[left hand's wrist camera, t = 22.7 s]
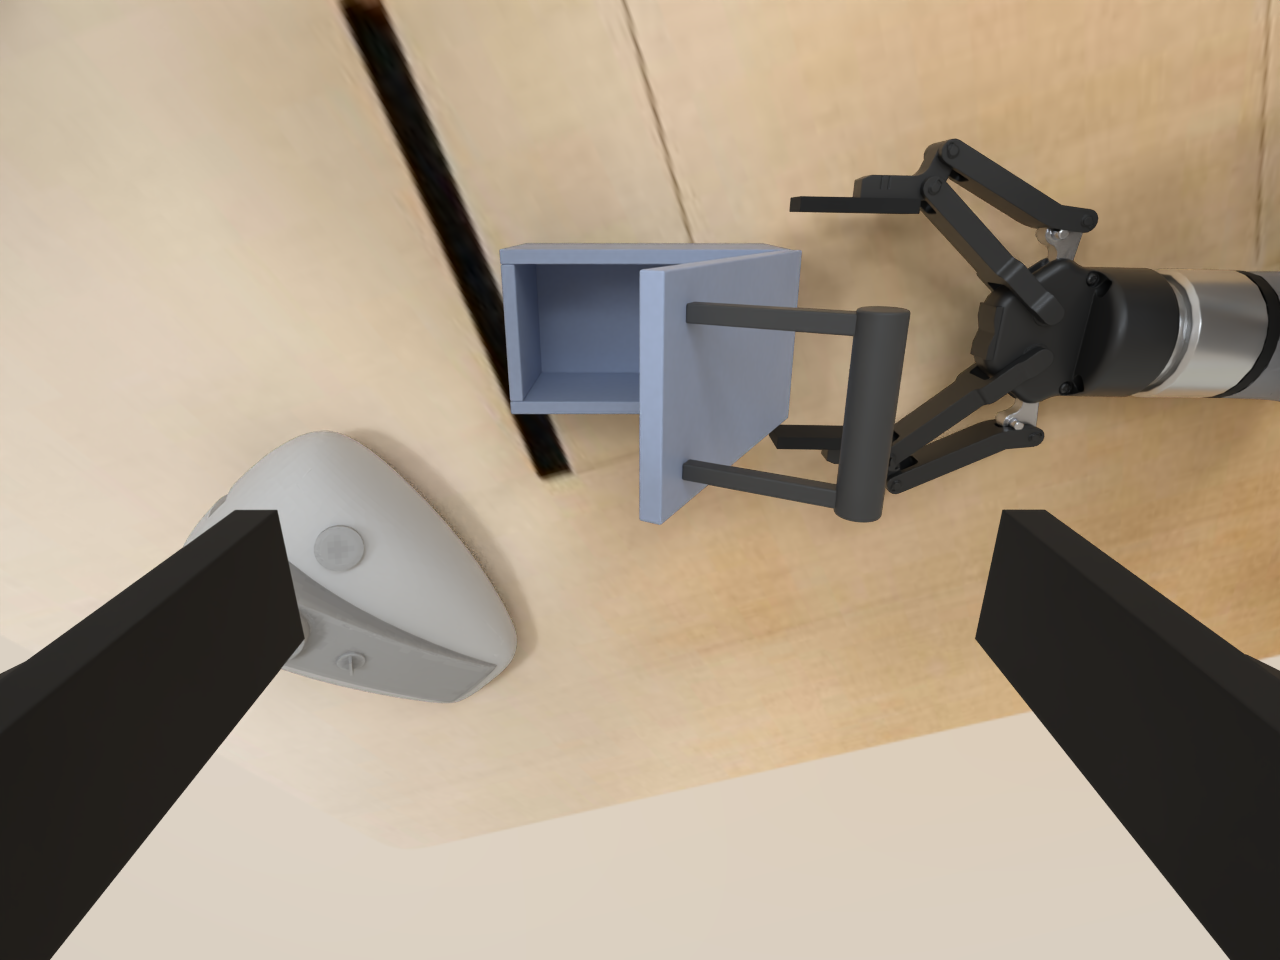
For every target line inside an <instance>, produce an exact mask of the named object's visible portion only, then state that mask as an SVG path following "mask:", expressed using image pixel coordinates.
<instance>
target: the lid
mask: <svg viewBox="0 0 1280 960" xmlns="http://www.w3.org/2000/svg"><path fill="white" fill-rule="evenodd" d="M801 255H802V251H801V250H781V251H774V252H767V253H759V254H752V255H745V256H738V257H730V258H723V259H716V260H708V261H701V262H694V263H686V264H679V265H672V266H665V267H657V268H650V269H643V270H640V520H641V521H645V522H650V523H654V524H659V525H660V524H662V523H663V522H665V521H666V520H667V519H668V518H669V517H671V516H672V515H673V514H674V513H675V512H676V511H678V510H679V509H680V508H681V507H682V506H684V505H685V504H686V503H687V502H688V501H690V500H691V499H692V498H693V497H694V496H695V495H697V494H698V493H699V492H700V491H701V490H703V489H704V488H705V487H706V486H707V485H712V486H718V487H723V488H728V489H734V490H739V491H744V492H750V493H755V494H760V495H766V496H771V497H776V498H781V499H787V500H792V501H797V502H803V503H808V504H813V505H819V506H824V507H829V508H834V512H835V514H836V515H838V516H839V517H841V518H843V519H846V520H849V521H854V522H873V521H876V520H878V519H879V518H880V517H881V515H882V508H883V501H884V494H885V487H886V480H887V473H888V466H889V459H890V452H891V445H892V438H893V431H894V424H895V417H896V410H897V403H898V396H899V389H900V382H901V375H902V368H903V361H904V354H905V347H906V340H907V333H908V326H909V319H910V311H909V310H907V309H903V308H897V307H883V306H869V307H861V308H858V309H857V311H843V310H826V309H810V308H797V303H798V291H799V279H800V267H801ZM795 332H807V333H820V334H833V335H847V336H853V345H852V354H851V362H850V371H849V380H848V389H847V397H846V406H845V415H844V424H843V432H842V441H841V450H840V459H839V467H838V476H837V484H831V483H825V482H819V481H814V480H808V479H802V478H796V477H790V476H785V475H779V474H773V473H767V472H761V471H756V470H750V469H744V468H738V467H732V466H731V465H732V464H733V463H735V462H736V461H737V460H738V459H739V458H741V457H742V456H743V455H744V454H745V453H747V452H748V451H749V450H750V449H751V448H752V447H754V446H755V445H756V444H757V443H758V442H760V441H761V440H762V439H763V438H764V437H765V436H767V435H768V434H769V433H770V432H771V431H773V430H774V429H775V428H776V427H777V426H779V425H780V424H781V423H782V422H783V421H784V420H786V419H787V418H788V411H789V399H790V387H791V375H792V363H793V351H794V339H795Z"/></svg>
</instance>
